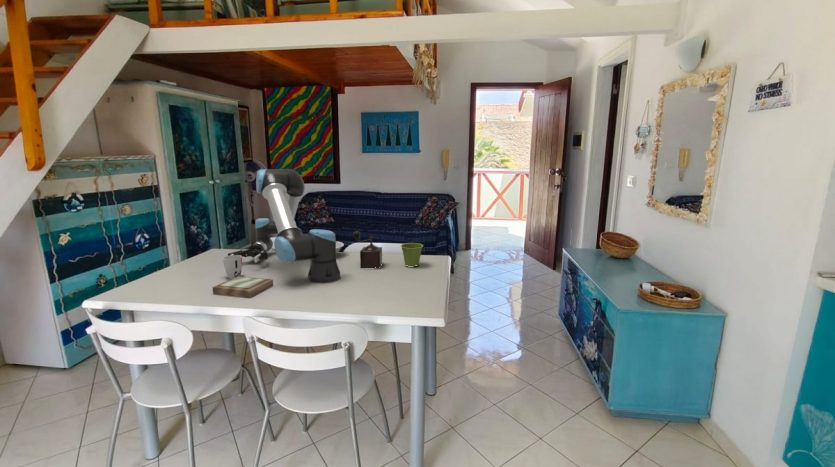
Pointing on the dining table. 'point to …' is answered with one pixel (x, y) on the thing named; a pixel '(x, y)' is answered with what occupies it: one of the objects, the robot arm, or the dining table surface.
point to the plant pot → (411, 253)
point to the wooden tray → (243, 286)
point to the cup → (233, 265)
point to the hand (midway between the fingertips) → (241, 259)
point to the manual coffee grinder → (369, 254)
